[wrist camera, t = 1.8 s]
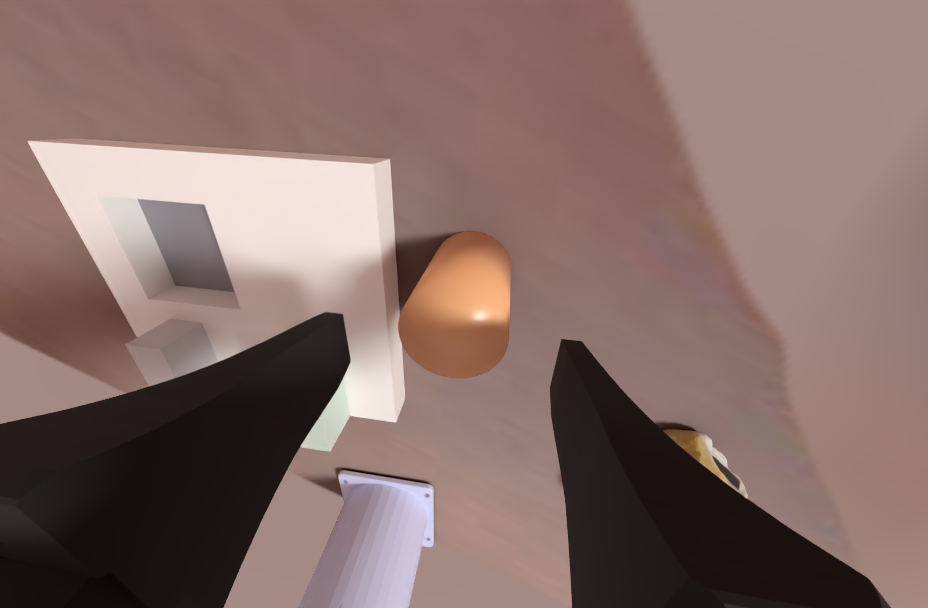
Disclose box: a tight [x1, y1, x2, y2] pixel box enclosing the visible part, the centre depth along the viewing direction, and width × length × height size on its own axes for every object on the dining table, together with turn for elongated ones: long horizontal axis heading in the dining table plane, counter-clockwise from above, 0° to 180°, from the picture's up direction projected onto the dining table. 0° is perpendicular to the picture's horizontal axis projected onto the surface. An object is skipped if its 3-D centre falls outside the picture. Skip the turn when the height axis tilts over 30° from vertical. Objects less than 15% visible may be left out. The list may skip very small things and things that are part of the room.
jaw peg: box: [398, 231, 511, 378], centre depth 14 cm, size 4×4×6 cm
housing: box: [27, 138, 405, 422], centre depth 17 cm, size 15×16×4 cm
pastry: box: [662, 429, 747, 498], centre depth 21 cm, size 9×7×4 cm
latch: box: [300, 380, 349, 452], centre depth 18 cm, size 6×3×2 cm, turn 178°
